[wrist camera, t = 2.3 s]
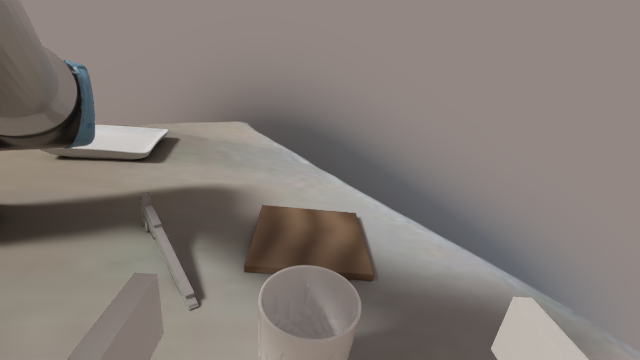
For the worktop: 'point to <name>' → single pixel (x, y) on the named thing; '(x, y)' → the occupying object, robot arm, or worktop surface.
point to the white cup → (307, 315)
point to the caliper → (166, 250)
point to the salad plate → (116, 143)
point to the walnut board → (308, 242)
